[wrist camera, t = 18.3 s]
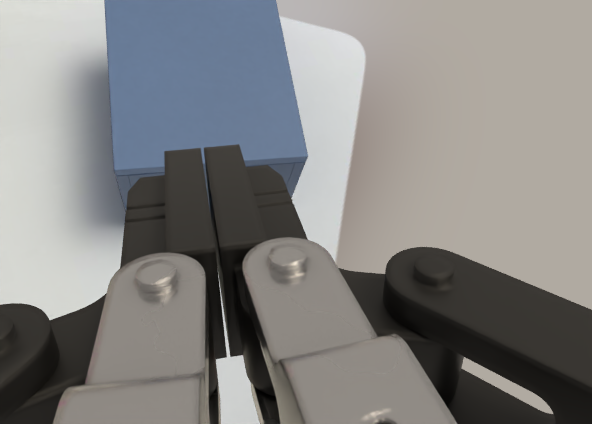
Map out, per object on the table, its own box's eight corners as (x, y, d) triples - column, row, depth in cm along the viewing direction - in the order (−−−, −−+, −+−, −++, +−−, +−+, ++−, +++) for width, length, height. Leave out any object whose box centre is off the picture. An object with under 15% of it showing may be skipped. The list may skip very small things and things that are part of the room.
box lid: (104, -19, 41) (102, -28, 40) (269, -19, 43) (270, -26, 43) (115, 176, 35) (113, 170, 34) (305, 161, 37) (308, 156, 37)
